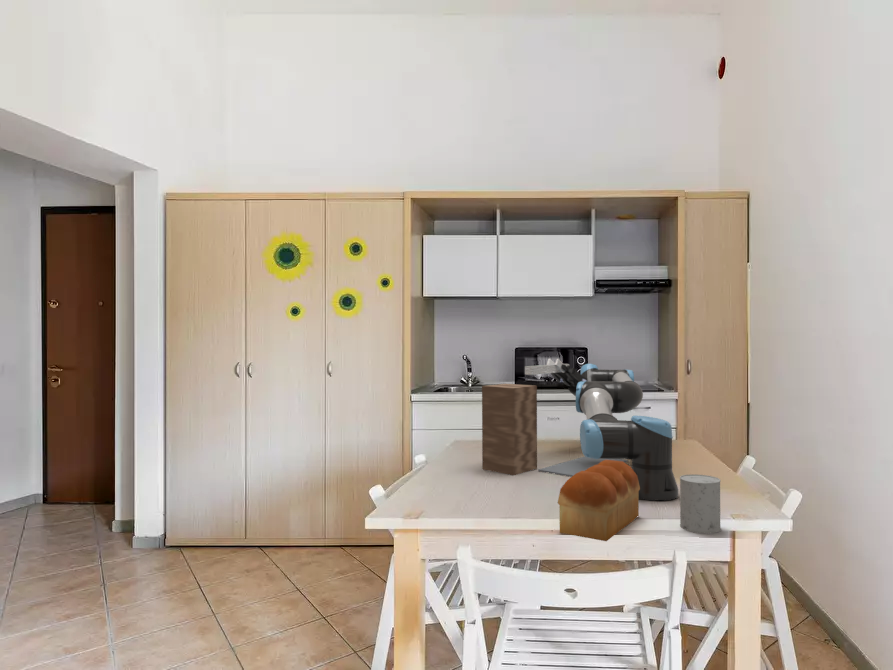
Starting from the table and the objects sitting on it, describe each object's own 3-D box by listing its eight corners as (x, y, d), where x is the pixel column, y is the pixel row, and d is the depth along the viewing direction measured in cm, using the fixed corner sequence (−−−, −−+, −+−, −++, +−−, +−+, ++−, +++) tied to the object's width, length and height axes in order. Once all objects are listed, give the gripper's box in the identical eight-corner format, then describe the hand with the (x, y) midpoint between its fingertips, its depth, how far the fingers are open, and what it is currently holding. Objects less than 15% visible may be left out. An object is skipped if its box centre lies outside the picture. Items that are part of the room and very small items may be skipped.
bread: (606, 542, 149) (606, 479, 148) (557, 533, 156) (557, 473, 156) (640, 517, 169) (640, 461, 169) (595, 509, 176) (595, 456, 176)
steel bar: (562, 371, 254) (562, 363, 254) (569, 371, 252) (569, 364, 252) (524, 374, 235) (524, 366, 235) (531, 374, 233) (531, 366, 233)
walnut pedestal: (506, 463, 238) (505, 383, 238) (537, 468, 228) (536, 385, 228) (482, 469, 228) (482, 386, 228) (513, 475, 218) (513, 388, 218)
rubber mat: (590, 456, 251) (590, 454, 251) (627, 461, 240) (627, 460, 240) (538, 471, 225) (538, 469, 225) (577, 478, 214) (577, 476, 214)
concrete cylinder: (682, 532, 156) (682, 482, 156) (677, 520, 165) (677, 473, 165) (724, 534, 153) (723, 484, 153) (717, 523, 163) (716, 475, 163)
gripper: (595, 397, 254) (567, 370, 239) (560, 395, 265) (532, 369, 250) (599, 381, 257) (573, 353, 242) (565, 379, 268) (538, 352, 253)
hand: (552, 361), depth 246 cm, fingers closed on steel bar, 3 cm apart
